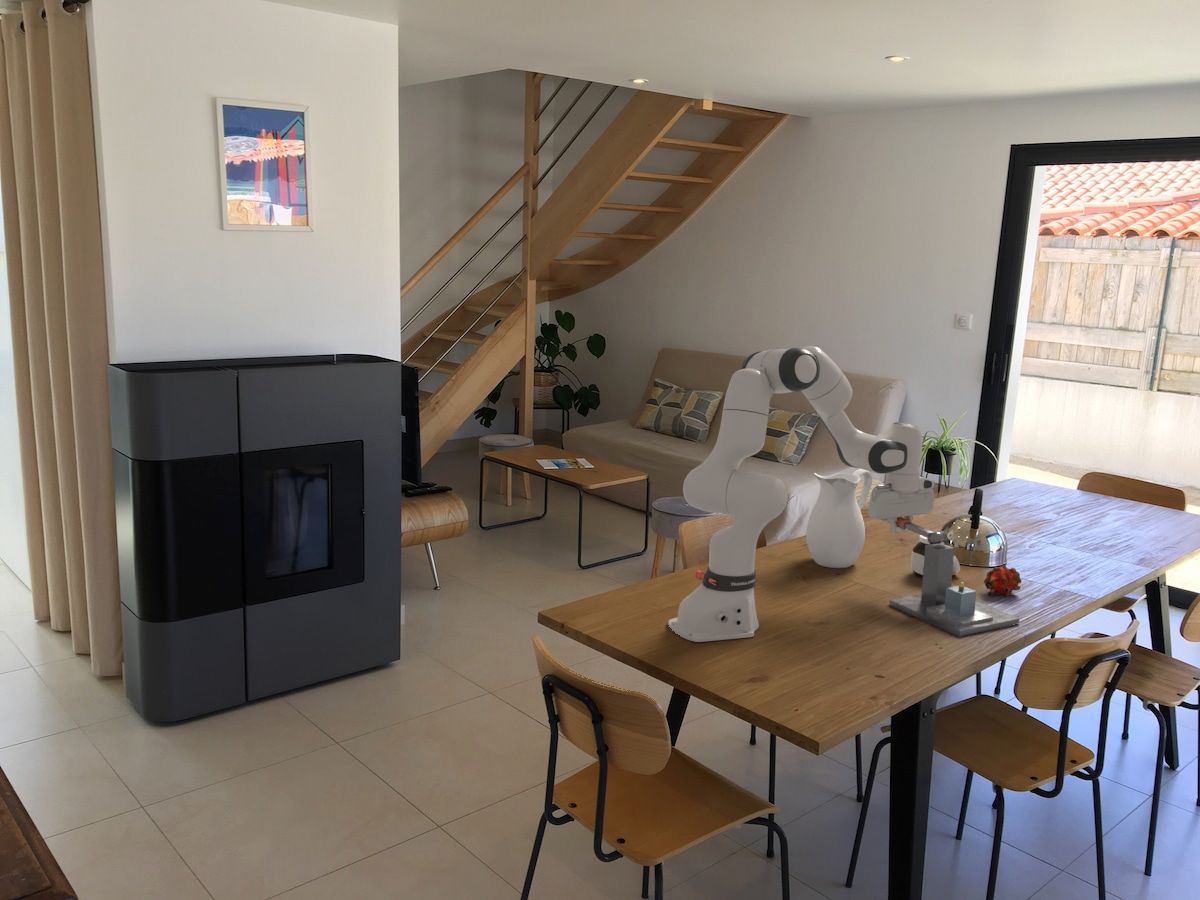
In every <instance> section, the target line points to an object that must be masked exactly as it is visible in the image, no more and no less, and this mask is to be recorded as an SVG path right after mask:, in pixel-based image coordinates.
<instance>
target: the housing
mask: <svg viewBox="0 0 1200 900" xmlns="http://www.w3.org/2000/svg"><path fill="white" fill-rule="evenodd" d="M976 599H977V590H974V589H972V588H969V587H967V586H965V582H963V581H959V582H958V585H954V586H951V587H948V588H946V597H945V610H944V611H947V612H949V613H951V614H954V615H956V616H958V617H963V616H967V615H972V614H974V613H975V602H976Z"/></svg>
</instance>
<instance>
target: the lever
mask: <svg viewBox="0 0 1200 900" xmlns="http://www.w3.org/2000/svg"><path fill="white" fill-rule="evenodd" d="M881 521H883V522H886V521H887V523H888V524H889V522H888V520H887V519H882V520H881ZM895 523H896V526H897V527H899V529H900V528H902V529H908V530H909V531H911V532H913V533H915V534H917V535H919V536H920V535H922V536H924V537H927V539H928V542H929V543H930V544H932V545H933V544H940V543H944V544H945V543H947V542H948V538H949V537H948V534H947V533H946V531H945V530H944V531H943V530H941V531H935V532H934V531H933V530H930V529H927V528H925V527H922V526H921V525H917V524H915V523H912V522H911V521H910V520H908V519H905V518H904V517H897V521H895Z"/></svg>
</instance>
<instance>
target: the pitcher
mask: <svg viewBox="0 0 1200 900" xmlns="http://www.w3.org/2000/svg"><path fill="white" fill-rule="evenodd" d="M813 475H814V476H815V478H816V479H817V480H818V483H819V485H820V489H819V494H818V498H817V500H816V502H815V504H814V506H813V508H812V510H811V512H810V514H809V517H808V522H807V526H806V544H807V547H808V550H809V553H810V556H811V557H812V559H813V561H814V562H815V563H816V564H817V565H819V566H821V567H825V568H829V569H830V568H831V569H845V568H850V567H852V566H853V565H854V564H855V563H856V561H857V560H858V558H859V556H860V555H861V553H862V550H863V548H864V544H865V538H866V529H865V523H864V518H863V514H862V509H863V507H864V505H865V502H866V501H867V499H868V496H869V493H871V492H870V491H871V488H872V485H873V484H872V483H873V475H872V472H870V471H867V470H863V469H860V468H857V470H855V471H853V472H852V473H848V472H838V473H837V472H836V473H833V474H831V475H828V476H827V475H826V476H823V475H820V474H818V473H816V472H813ZM862 476H863V482H862V483H863V485H862V489H861V492H860V495H859V498H858V500H857V497H856V496H857V495H856V489H857V486H858V484H859V483H860V482H861V477H862Z"/></svg>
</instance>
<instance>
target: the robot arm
mask: <svg viewBox="0 0 1200 900" xmlns="http://www.w3.org/2000/svg"><path fill="white" fill-rule="evenodd" d="M853 390H854V389H853V387H852V386H851V383H850V381H849V379H848V377H846V375H845V374H844V373H843V371H842V369H840V367H839V366H838V365H837V363H835V362H834V360H833V359H832V358H831V357H830V356H829V355H828V354H826V352H824V351H823V350H822V349H821V348H820V347H818V346H814V345H808V346H804V347H802V348H800V347H792V348H772V349H771V348H770V349H767V350H764V351H763V350H762V351H761V350H760V351H757V352H754V353H752V354H750V355H748V356H747V357H746V358H745V359H744V361H743V362H742V363H741V366H740V369H739V370H736V371H735V372H734V373H733V374H732V375H731V378H730V380H729V384H728V387H727V390H726V392H725V397H724V401H723V407H722V413H721V418H720V419H721V420H720V426H719V430H718V435H717V440H716V443H715V445H714V446H713V448H712V450H711V452H710V453H709V455H708V456H707V458H706V459H705V460H704V461H703V462H702V463H700V464H699V465H698V466H696V467H695V468H693V469H691V470H690V471H689V472H688V474H687V475H686V477H685V478H684V481H683V485H682V492H683V496H684V499H685V502H686V503H687V505H688V506H689V507H693V508H695V509H697V510H701V511H703V512H706V513H713V514H721V515H729V516H731V517H732V524H731V525H729V526H727V527H723V528H722V529H719V530H717V531H716V532H715V533H713V535H712V536H711V538H710V540H709V556H708V557H709V558H708V560H709V561H708V567H707V569H706V571H705V572H704V571H702V570H700V569H697V570H696V571H695V572H694V577H695V578H696V579H698V580H700V581H701V580H702V581H701V584H700V585H698V586H697V587H696V588H695V589H694V590H692V592H691V593H690V594H689V595H687V596H686V597H684V599H682V600H681V601H680V604H679V607H678V611H677V617H673V618H671V619H668V622H667V623H668V624H667V625H669V626H668V628H669V627H670V628H671V629H672V630H671V629H670V628H669V629H670V630H671V631H672V632H673V631H674V632H675V633H674V632H673V633H674V634H676V635H677V634H678V635H677V636H679V635H680V636H679V637H680V638H682V639H683V638H684V639H685V640H688V641H691V642H695V643H703V642H713V641H722V640H723V641H725V640H736V639H743V638H744V639H746V638H752V637H754V636H755V632H756V631H757V630H758V629H759V627H760V623H759V621H758V617H757V616H758V615H757V610H756V602H755V588H756V585H757V579H756V578H757V577H756V576H757V571H756V569H755V564H756V553H757V552H756V551H757V545H758V544H757V543H758V541H759V540H758V539H759V537H760V535H761V533H762V531H763V530H764V528H765V527H766V526H767V525H768V524H769V523H770V522H771V521H773V520H774V519H776V518H777V517H779V516H781V514H782V513H783V512H784V510H785V508H786V506H787V503H788V496H789V495H788V490H787V487H786V485H785V483H784V481H783V480H782V479H781V478H778V477H776V476H774V475H769V474H768V473H767V474H766V473H764V472H763V473H762V472H756V471H747V470H739V467H740V465H741V463H742V462H743V461H744V460H745V459H747V458H748V457H751V456H754V455H756V454H758V453H759V452H760V451H761V450H762V449H763V447H764V445H765V443H766V435H767V428H768V421H769V415H770V414H769V413H770V403H771V401H770V400H771V398H772V396H774V394H776V395H777V394H788V393H792V392H795V393H798V392H801V393H802V394H803V395H804V398H805V399H807V401H808V402H809V404H810V405H811V406H812V407H813V409H814V410H815V412H816V414H817V416H818V417H819V419H820V421H821V422H822V424H823V425H824V427H825V429H826V430H827V431H828V433H829V434H830V436H831V438H832V439H833V441H834V444H835V446H836V451H837V454H838V457H839V459H840V461H841V462H842V463H843V464H844V465H846V466H848V467H850V468H855V469H863V470H867V471H869V472H870V473H875V474H878V475H879V474H885V482H884V483H883V484H877V485H875V487H874V488H873V489H872V490H871V492H870V493H871V494H870V498H869V501H868V502H869V503H868V509H867V515H868V517H869V518H871V519H873V520H876V521H879V520H880V521H882V519H887V520H888V521H887V520H886V521H887V523H888V522H889V523H888V525H889V526H890V530H889V531H890V533H892V534H898V533H900V532H903V533H906V532H907V533H908V532H909V531H910V530H908V529H902V528H899V527H897V526H896V523H895V521H897V517H903V518H905V519H908V520H910V521H911V523H912V522H913V520H914V516H919V515H926V514H931V513H932V511H933V509H934V506H935V503H934V502H935V492H934V490H933V488H935V481H934V480H932V479H930V478H928V477H927V478H926V477H923V476H921V467H920V463H921V459H922V457H923V456H922V455H923V437H922V436H923V435H922V430H921V429H920V428H919V426H917V425H914V424H911V423H910V424H909V423H905V422H898V421H897V422H892V423H891V425H890V427H888V428H887V429H886V430H885V431H883V432H881V433H880V434H877V435H874V434H871V433H866V432H864V431H861V430H859V429H857V428H856V427H855V426H854V424H853V423H852V422H851V420H850V419H849V417H848V415H847V413H846V412H845V409H846V408H847V407H848V405H849V404H850V402H851V400H852V397H853Z"/></svg>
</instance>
